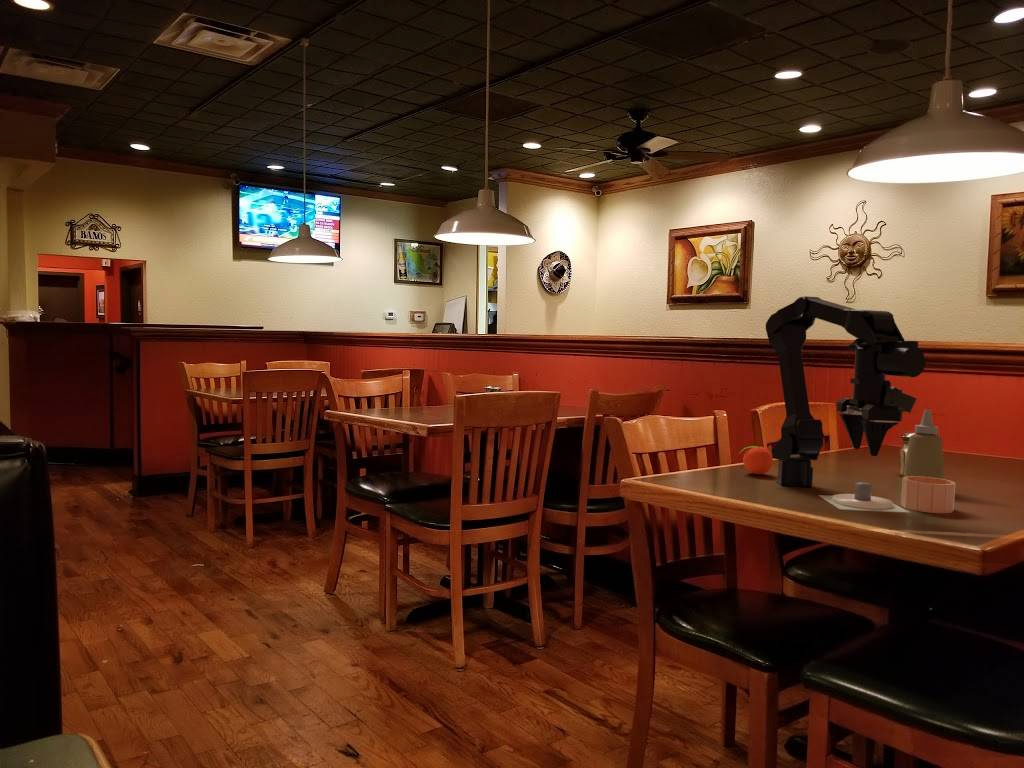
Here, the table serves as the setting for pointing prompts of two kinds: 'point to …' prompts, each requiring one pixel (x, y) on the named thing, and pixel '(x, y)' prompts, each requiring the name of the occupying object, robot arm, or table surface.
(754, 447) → the clementine
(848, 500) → the lid
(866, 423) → the robot arm
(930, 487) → the bowl
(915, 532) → the table surface
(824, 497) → the mat
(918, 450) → the squeeze bottle
